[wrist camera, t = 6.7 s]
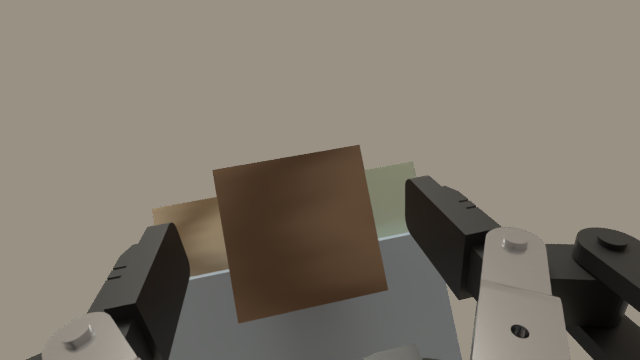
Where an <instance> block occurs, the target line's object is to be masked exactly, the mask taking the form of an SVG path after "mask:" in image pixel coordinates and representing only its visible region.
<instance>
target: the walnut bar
mask: <svg viewBox="0 0 640 360" xmlns="http://www.w3.org/2000/svg"><path fill="white" fill-rule="evenodd" d="M213 176H214V182H215V188H216V194H217V200H218V206H219V212H220V218H221V224H222V230H223V236H224V242H225V248H226V254H227V260H228V266H229V272H230V278H231V284H232V290H233V295H234V301H235V307H236V313H237V319H238V324H239V323H244V322H248V321H253V320H257V319H262V318H266V317H271V316H275V315H280V314H284V313H289V312H293V311H297V310H302V309H306V308H311V307H315V306H320V305H324V304H329V303H333V302H338V301H342V300H347V299H351V298H356V297H360V296H364V295H369V294H373V293H378V292H382V291H387V290H388V286H387V281H386V276H385V271H384V266H383V261H382V256H381V251H380V246H379V241H378V236H377V231H376V226H375V221H374V216H373V211H372V206H371V201H370V196H369V191H368V186H367V181H366V176H365V171H364V166H363V161H362V156H361V151H360V146H359V145H356V146H350V147H344V148H339V149H333V150H327V151H321V152H315V153H310V154H304V155H298V156H292V157H286V158H280V159H275V160H269V161H263V162H257V163H251V164H246V165H240V166H234V167H228V168H222V169H217V170H213Z"/></svg>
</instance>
